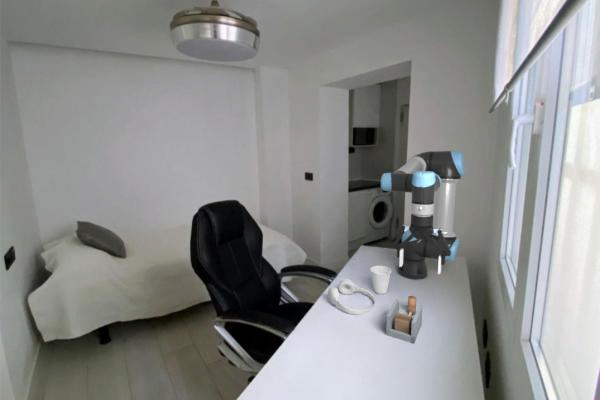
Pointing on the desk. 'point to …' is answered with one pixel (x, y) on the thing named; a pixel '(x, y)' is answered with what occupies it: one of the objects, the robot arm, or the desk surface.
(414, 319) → the lane
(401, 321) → the tethered block
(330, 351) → the desk surface
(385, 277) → the cup
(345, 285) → the headphones
